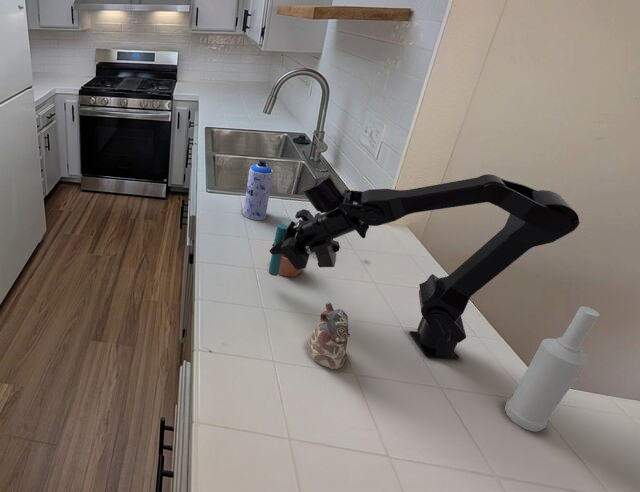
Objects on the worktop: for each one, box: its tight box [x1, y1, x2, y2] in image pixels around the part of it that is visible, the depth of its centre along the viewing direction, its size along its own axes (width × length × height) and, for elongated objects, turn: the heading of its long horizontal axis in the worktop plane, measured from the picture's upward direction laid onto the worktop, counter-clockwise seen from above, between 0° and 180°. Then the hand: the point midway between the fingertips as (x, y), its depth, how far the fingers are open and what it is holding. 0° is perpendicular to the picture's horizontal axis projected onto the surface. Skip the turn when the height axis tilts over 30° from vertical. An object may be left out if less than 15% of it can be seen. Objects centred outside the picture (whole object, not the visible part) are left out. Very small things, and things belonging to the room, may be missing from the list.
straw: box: [268, 222, 288, 277], centre depth 95 cm, size 2×2×14 cm
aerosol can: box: [242, 159, 274, 221], centre depth 129 cm, size 8×8×20 cm
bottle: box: [504, 305, 601, 433], centre depth 64 cm, size 5×5×25 cm
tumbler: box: [278, 254, 301, 278], centre depth 105 cm, size 7×7×6 cm
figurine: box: [307, 301, 352, 370], centre depth 78 cm, size 7×7×12 cm
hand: (271, 249), depth 96 cm, fingers closed on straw, 2 cm apart
